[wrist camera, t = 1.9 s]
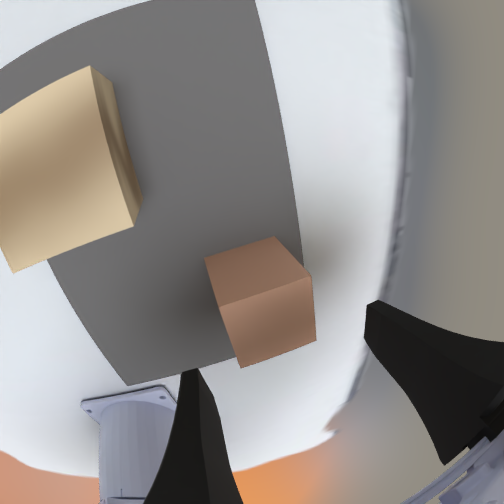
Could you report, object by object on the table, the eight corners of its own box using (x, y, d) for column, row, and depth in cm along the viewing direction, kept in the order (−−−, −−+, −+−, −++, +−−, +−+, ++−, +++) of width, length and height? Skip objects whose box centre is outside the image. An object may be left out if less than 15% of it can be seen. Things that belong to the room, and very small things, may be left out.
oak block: (143, 198, 13) (134, 226, 9) (44, 237, 12) (13, 273, 8) (112, 82, 10) (89, 65, 6) (11, 133, 9) (-34, 140, 5)
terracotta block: (284, 293, 17) (316, 340, 13) (222, 314, 17) (240, 368, 13) (274, 236, 16) (311, 275, 12) (203, 258, 15) (218, 307, 11)
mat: (308, 326, 20) (310, 329, 20) (127, 382, 18) (127, 386, 17) (248, -11, 10) (250, -14, 9) (-2, 73, 7) (-5, 73, 7)
